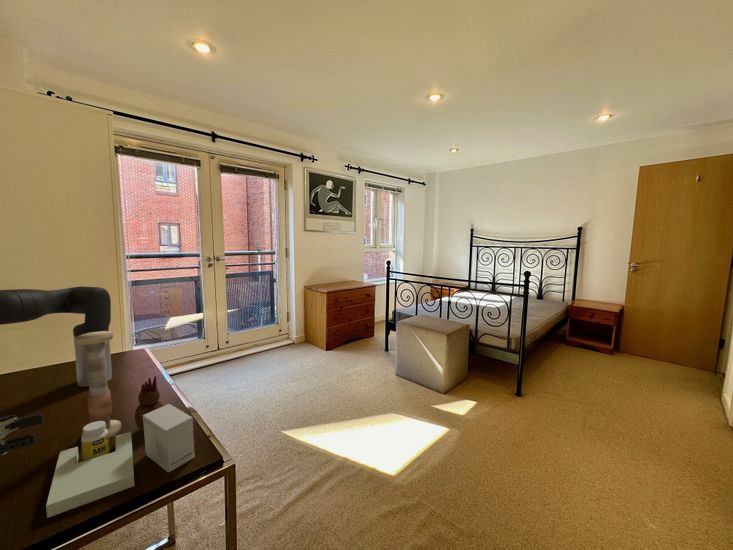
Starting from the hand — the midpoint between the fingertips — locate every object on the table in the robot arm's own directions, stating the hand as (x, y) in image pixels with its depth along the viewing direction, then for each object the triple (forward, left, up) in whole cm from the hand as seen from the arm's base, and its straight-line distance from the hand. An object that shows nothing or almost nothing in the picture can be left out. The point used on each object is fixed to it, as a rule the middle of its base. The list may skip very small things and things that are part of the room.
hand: (38, 427), depth 69 cm
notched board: (+8, +9, -10) cm, 16 cm away
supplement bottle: (+3, +9, -10) cm, 14 cm away
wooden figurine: (-4, +20, -10) cm, 23 cm away
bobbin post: (-9, +10, -10) cm, 17 cm away
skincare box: (+11, +23, -10) cm, 27 cm away
